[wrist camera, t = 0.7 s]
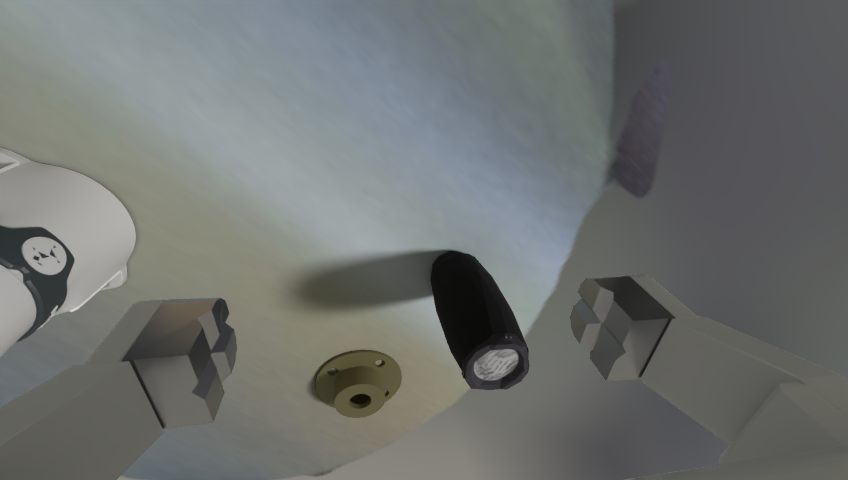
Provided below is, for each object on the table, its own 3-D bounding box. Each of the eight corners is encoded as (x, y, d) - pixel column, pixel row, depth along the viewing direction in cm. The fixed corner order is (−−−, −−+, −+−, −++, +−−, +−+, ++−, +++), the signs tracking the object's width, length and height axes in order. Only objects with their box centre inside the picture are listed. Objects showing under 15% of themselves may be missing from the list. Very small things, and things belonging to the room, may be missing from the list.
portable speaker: (420, 291, 57) (450, 397, 41) (437, 240, 53) (478, 334, 37) (469, 297, 60) (516, 399, 43) (489, 249, 56) (549, 341, 39)
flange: (295, 413, 60) (367, 438, 66) (351, 357, 56) (422, 389, 63) (298, 389, 64) (366, 415, 70) (350, 335, 60) (417, 368, 67)
